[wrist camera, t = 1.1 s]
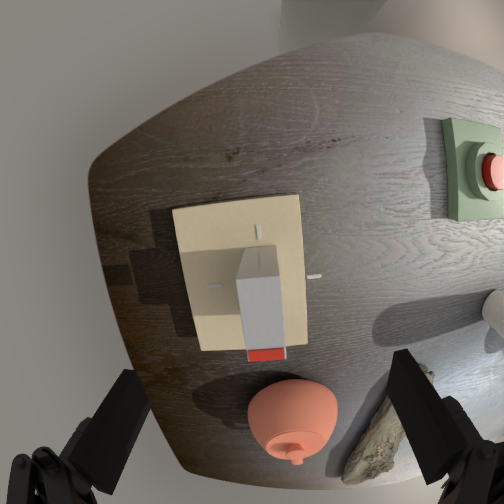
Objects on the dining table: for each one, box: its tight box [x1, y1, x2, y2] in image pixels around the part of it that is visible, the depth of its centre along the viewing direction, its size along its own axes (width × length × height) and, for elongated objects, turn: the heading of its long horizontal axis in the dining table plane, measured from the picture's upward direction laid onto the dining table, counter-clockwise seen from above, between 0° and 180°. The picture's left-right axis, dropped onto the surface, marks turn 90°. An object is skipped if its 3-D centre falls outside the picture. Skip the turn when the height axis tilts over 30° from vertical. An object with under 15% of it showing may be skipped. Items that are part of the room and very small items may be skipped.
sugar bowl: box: [248, 379, 338, 465], centre depth 30 cm, size 12×14×10 cm
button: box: [481, 155, 504, 190], centre depth 21 cm, size 4×4×2 cm
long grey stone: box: [341, 364, 435, 485], centre depth 35 cm, size 35×5×10 cm
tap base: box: [172, 192, 321, 351], centre depth 28 cm, size 16×14×3 cm
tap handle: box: [235, 245, 287, 362], centre depth 23 cm, size 7×3×8 cm, turn 7°
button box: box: [441, 118, 504, 222], centre depth 23 cm, size 12×10×4 cm
